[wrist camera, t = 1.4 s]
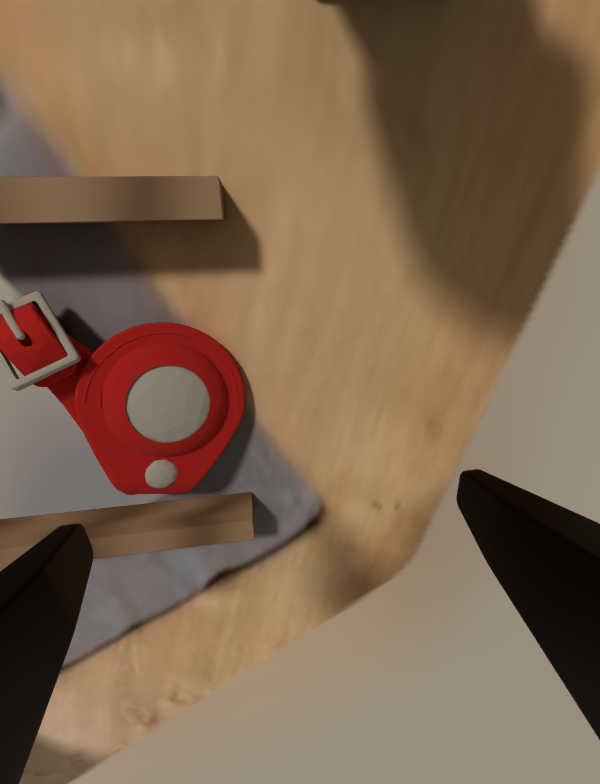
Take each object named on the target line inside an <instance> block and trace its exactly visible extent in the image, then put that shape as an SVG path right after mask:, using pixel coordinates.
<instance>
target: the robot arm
mask: <svg viewBox="0 0 600 784" xmlns="http://www.w3.org/2000/svg"><path fill="white" fill-rule="evenodd" d="M457 503H458V506H459V509H460V511H461V513H462V515H463V516H464V519H465V520H466V522H467V524H468V526H469V528H470V530H471V532H472V534H473V536H474V538H475V540H476V542H477V544H478V546H479V548H480V550H481V552H482V554H483V556H484V558H485V559H486V561H487V563H488V565H489V566H490V568H491V570H492V571H493V573H494V575H495V576H496V578H497V579H498V581H499V582H500V584H501V585H502V587H503V589H504V590H505V592H506V593H507V595H508V596H509V598H510V600H511V601H512V603H513V604H514V606H515V608H516V609H517V611H518V612H519V614H520V615H521V617H522V618H523V620H524V622H525V623H526V625H527V626H528V628H529V630H530V631H531V632H532V634H533V636H534V637H535V639H536V640H537V642H538V643H539V645H540V647H541V648H542V650H543V651H544V653H545V655H546V656H547V658H548V659H549V661H550V662H551V664H552V666H553V667H554V669H555V670H556V672H557V674H558V675H559V677H560V678H561V680H562V681H563V683H564V684H565V686H566V688H567V689H568V691H569V692H570V694H571V696H572V697H573V699H574V700H575V702H576V703H577V705H578V706H579V708H580V710H581V711H582V713H583V714H584V716H585V717H586V719H587V721H588V722H589V724H590V725H591V727H592V728H593V730H594V732H595V733H596V735H597V736H598V738H599V740H600V524H599V523H597V522H595V521H592V520H590V519H588V518H586V517H584V516H581V515H579V514H577V513H575V512H573V511H570V510H568V509H566V508H564V507H561V506H559V505H557V504H555V503H553V502H550V501H548V500H546V499H544V498H542V497H539V496H537V495H535V494H533V493H530V492H528V491H526V490H524V489H522V488H519V487H517V486H515V485H513V484H511V483H508V482H506V481H504V480H502V479H499V478H497V477H495V476H493V475H490V474H488V473H486V472H484V471H482V470H479V469H475V470H467V471H463V472H462V473H461V475H460V479H459V486H458V492H457ZM92 562H93V548H92V546H91V543H90V540H89V538H88V535H87V533H86V530H85V528H84V526H83V525H82V524H80V523H74V524H67V525H62V526H59V527H58V528H56V529H55V530H54V531H53V532H51V533H50V534H49V535H47V536H46V537H45V538H43V539H42V540H41V541H39V542H38V543H37V544H35V545H34V546H33V547H32V548H30V549H29V550H28V551H26V552H25V553H24V554H22V555H21V556H20V557H18V558H17V559H16V560H14V561H13V562H12V563H11V564H9V565H8V566H7V567H5V568H4V569H3V570H1V571H0V784H19V782H20V779H21V777H22V774H23V771H24V768H25V766H26V763H27V760H28V758H29V755H30V752H31V749H32V747H33V744H34V741H35V738H36V736H37V733H38V730H39V728H40V725H41V722H42V719H43V717H44V714H45V711H46V708H47V706H48V703H49V700H50V697H51V695H52V692H53V689H54V687H55V684H56V681H57V678H58V676H59V673H60V670H61V667H62V665H63V662H64V659H65V657H66V654H67V651H68V648H69V646H70V643H71V640H72V637H73V634H74V631H75V628H76V624H77V621H78V617H79V613H80V609H81V605H82V601H83V597H84V593H85V590H86V586H87V582H88V578H89V574H90V570H91V566H92Z"/></svg>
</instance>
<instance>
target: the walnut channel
mask: <svg viewBox="0 0 600 784" xmlns="http://www.w3.org/2000/svg"><path fill="white" fill-rule="evenodd" d="M180 221H225V211H224V200H223V190H222V183H221V181H220V179H219V177H218V176H137V177H0V225H25V224H77V223H129V222H180ZM74 523H80V524H82V525H83V526H84V528H85V530H86V533H87V535H88V538H89V540H90V543H91V546H92V548H93V559H97V558H105V557H113V556H121V555H129V554H137V553H145V552H153V551H161V550H169V549H177V548H185V547H194V546H202V545H210V544H218V543H226V542H234V541H242V540H250V539H254V517H253V502H252V492H249V493H240V494H231V495H221V496H212V497H203V498H194V499H184V500H175V501H166V502H157V503H148V504H139V505H129V506H120V507H112V508H102V509H93V510H83V511H75V512H65V513H56V514H47V515H37V516H28V517H19V518H9V519H0V570H3V569H4V568H5V567H7V566H8V565H9V564H11V563H12V562H13V561H14V560H16V559H17V558H18V557H20V556H21V555H22V554H24V553H25V552H26V551H28V550H29V549H30V548H32V547H33V546H34V545H35V544H37V543H38V542H39V541H41V540H42V539H43V538H45V537H46V536H47V535H49V534H50V533H51V532H53V531H54V530H55V529H56V528H58V527H59V526H62V525H67V524H74Z"/></svg>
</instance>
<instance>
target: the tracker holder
mask: <svg viewBox="0 0 600 784" xmlns="http://www.w3.org/2000/svg"><path fill="white" fill-rule="evenodd" d="M8 359H9V360H10V361H11V362H12V363H13V364H14V365H15V366H16V368H18V370H19V371H20V372H21V373H22V374H23V375H24V376H25V377H23V378H20V379H19V377H18V375H17V374H16V372H15V370H14V368H13V367H12V365H11V363H10V361H9V360H8ZM0 368H1V370H2V372H3V373H4V375H5V377H6V379H7V380H8V382H9V384H10V386H11V388H12V389H14V390H17V391H18V390H21V389H23V388H25V387H27V386H30V385H32V384H34V385H36V386H39V387H48V388H49V389H50V390H51V391H52V393H53V394H54V395H55V396H56V397H57V398H58V399H59V401H60V402H61V403H62V404H63V405H64V407H65V408H66V409H67V411H68V412H69V413H70V415H71V416H72V417H73V419H74V420H75V421H76V423H77V424H78V426H79V427H80V428H81V429H82V431H83V432H84V434H85V437H86V439H87V441H88V443H89V444H90V447H91V448H92V450H93V452H94V454H95V456H96V458H97V459H98V461H99V463H100V465H101V466H102V468H103V470H104V471H105V473H106V475H107V476H108V478H109V480H110V481H111V483H112V484H113V485H114V487H115V488H116V489H117V490H119V491H121V492H123V493H125V494H127V495H128V494H129V495H134V494H182V493H186V492H188V491H190V490H191V489H193V488H194V487H195V486H196V485H197V484H198V483H199V482H200V481H201V480H202V479H203V477H204V476H205V475H206V473H207V472H208V471H209V469H210V468H211V467H212V465H213V464H214V463H215V462H216V460H217V459H218V458H219V456H220V455H221V454H222V452H223V451H224V449H225V448H226V446H227V444H228V443H229V441H230V440H231V438H232V437H233V435H234V433H235V431H236V429H237V427H238V425H239V423H240V421H241V418H242V416H243V412H244V407H245V391H244V383H243V380H242V376H241V374H240V371H239V369H238V367H237V365H236V363H235V362H234V360H233V358H232V357H231V355H230V354H229V353H228V352H227V351H226V350H225V349H224V347H223V346H222V345H220V344H219V343H218V342H217V341H216V340H215V339H213V338H212V337H210V336H209V335H207V334H205V333H203V332H201V331H199V330H197V329H194V328H192V327H189V326H185V325H181V324H175V323H163V322H158V323H148V324H142V325H138V326H134V327H131V328H129V329H127V330H124V331H122V332H120V333H118V334H116V335H114V336H113V337H112V338H110V339H109V340H107V341H106V342H104V343H103V344H102V345H101V346H100V347H99V348H98V349H97V350H96V351H95V352H93V351H91V350H89V349H87V348H86V347H85V346H83V345H82V344H80V343H79V342H78V341H76V340H75V339H73V338H72V337H71V336H69V335H68V334H66V332H65V330H64V329H63V327H62V326H61V324H60V322H59V321H58V319H57V317H56V316H55V314H54V312H53V311H52V309H51V307H50V306H49V304H48V302H47V301H46V299H45V297H44V296H43V294H42V293H41V292H37V291H35V292H33V293H30V294H28V295H25V296H23V297H21V298H18V299H16V300H13V301H11V302H8V303H6V302H5V301H3V300H0Z"/></svg>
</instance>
